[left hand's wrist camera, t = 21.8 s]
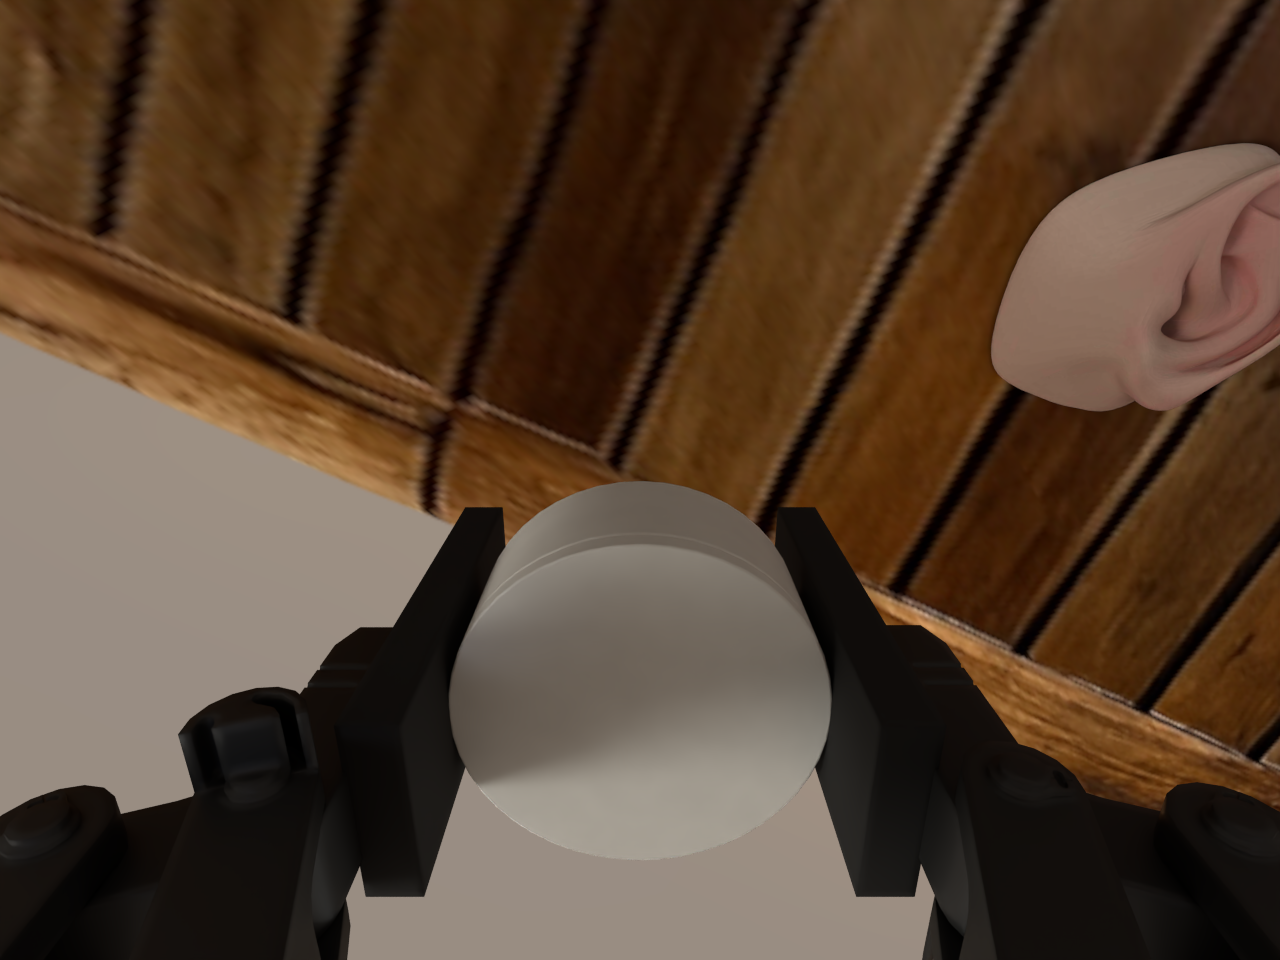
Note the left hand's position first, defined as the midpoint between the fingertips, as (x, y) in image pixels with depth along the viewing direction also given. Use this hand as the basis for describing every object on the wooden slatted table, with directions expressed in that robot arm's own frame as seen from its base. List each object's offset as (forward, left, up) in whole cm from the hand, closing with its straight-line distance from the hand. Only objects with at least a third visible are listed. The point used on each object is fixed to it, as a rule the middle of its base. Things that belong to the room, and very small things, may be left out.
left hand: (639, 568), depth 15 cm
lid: (0, 0, +4) cm, 4 cm away
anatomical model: (-12, +20, -21) cm, 31 cm away
